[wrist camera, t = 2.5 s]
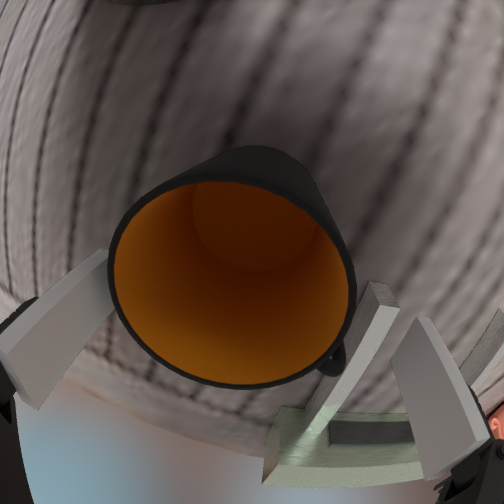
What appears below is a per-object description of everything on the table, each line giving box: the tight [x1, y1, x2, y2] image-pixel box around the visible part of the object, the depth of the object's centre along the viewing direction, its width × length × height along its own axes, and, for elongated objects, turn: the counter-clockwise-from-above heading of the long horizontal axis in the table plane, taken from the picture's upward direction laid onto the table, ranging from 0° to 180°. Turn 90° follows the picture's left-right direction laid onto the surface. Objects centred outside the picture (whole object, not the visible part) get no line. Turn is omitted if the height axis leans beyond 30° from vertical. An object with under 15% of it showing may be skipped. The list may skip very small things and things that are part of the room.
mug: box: [107, 146, 357, 390], centre depth 14 cm, size 8×12×10 cm
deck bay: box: [262, 281, 504, 488], centre depth 21 cm, size 23×22×7 cm
